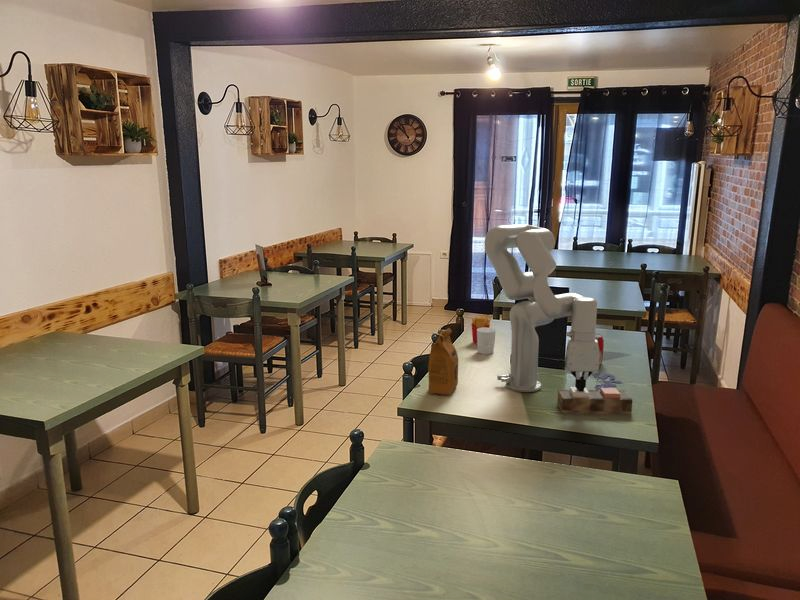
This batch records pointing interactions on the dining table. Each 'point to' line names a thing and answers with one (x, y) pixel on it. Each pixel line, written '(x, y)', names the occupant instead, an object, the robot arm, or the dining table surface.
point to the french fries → (479, 325)
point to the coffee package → (443, 365)
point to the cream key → (579, 393)
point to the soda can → (600, 346)
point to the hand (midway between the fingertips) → (580, 389)
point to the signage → (607, 383)
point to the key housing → (594, 403)
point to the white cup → (485, 340)
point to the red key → (609, 393)
